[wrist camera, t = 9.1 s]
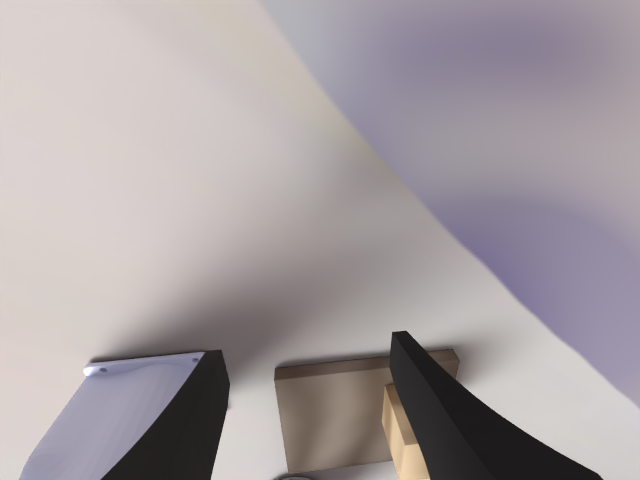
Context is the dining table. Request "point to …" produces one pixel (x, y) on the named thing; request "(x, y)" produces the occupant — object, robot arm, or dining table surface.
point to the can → (296, 478)
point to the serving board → (338, 411)
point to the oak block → (402, 439)
